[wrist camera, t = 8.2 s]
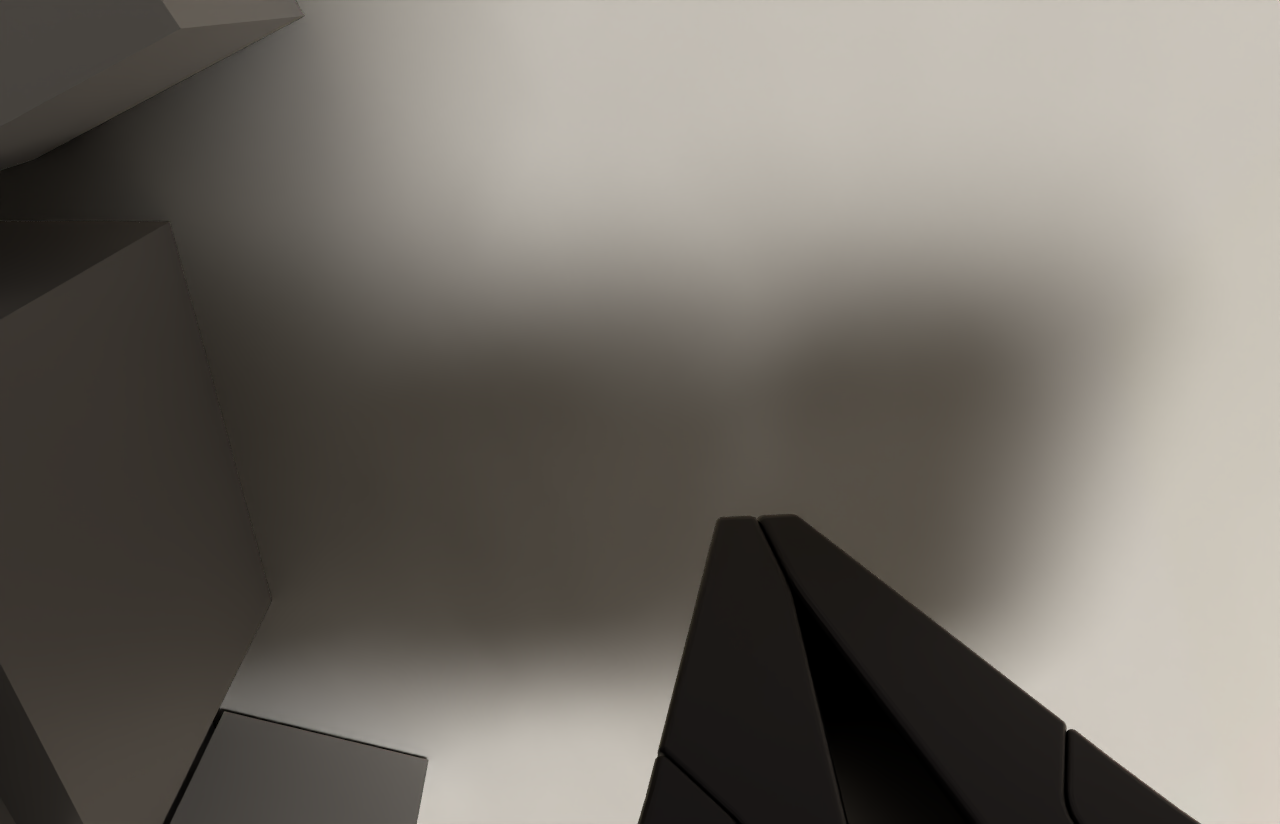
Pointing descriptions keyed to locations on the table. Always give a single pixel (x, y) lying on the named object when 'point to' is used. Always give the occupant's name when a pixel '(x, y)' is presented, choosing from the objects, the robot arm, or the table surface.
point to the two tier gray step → (111, 527)
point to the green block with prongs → (60, 111)
